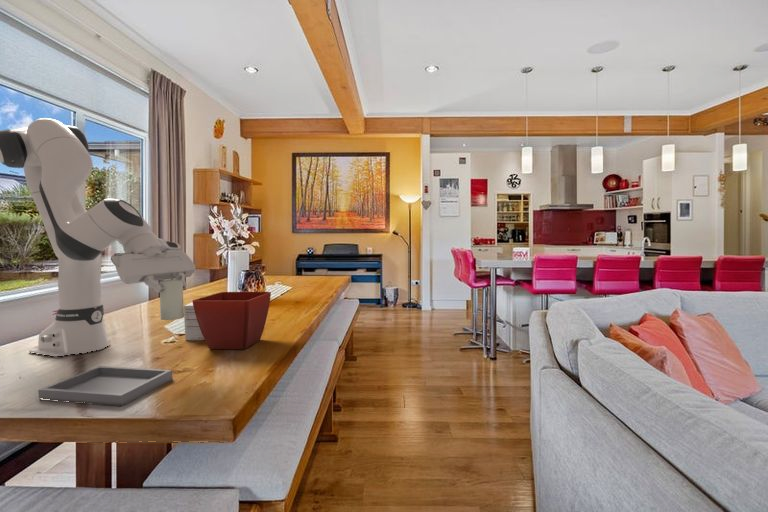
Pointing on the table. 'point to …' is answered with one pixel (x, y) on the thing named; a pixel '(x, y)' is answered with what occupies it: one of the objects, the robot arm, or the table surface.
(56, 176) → the robot arm
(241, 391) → the table surface
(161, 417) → the table surface
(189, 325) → the supplement box
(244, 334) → the plant pot
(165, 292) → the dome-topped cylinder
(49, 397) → the grey tray
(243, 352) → the table surface
